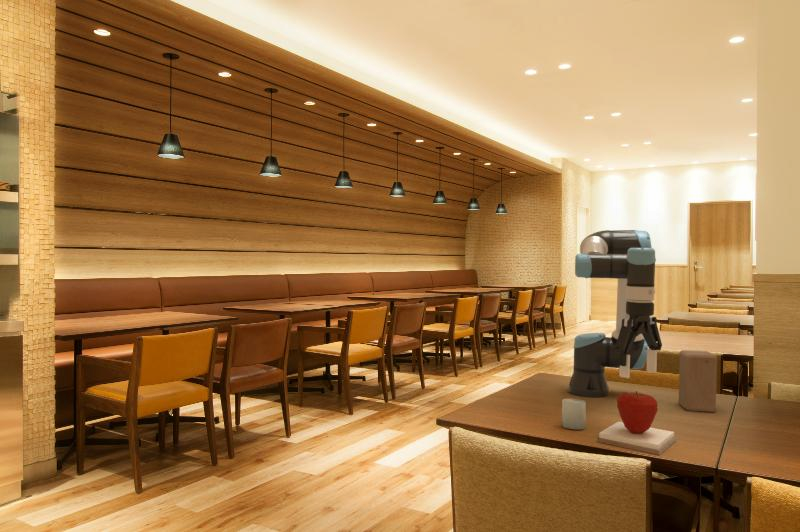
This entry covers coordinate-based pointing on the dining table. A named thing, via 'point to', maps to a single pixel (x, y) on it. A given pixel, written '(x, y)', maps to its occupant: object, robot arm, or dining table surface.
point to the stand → (637, 438)
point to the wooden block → (697, 380)
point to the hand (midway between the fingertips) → (638, 374)
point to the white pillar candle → (573, 413)
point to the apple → (637, 411)
